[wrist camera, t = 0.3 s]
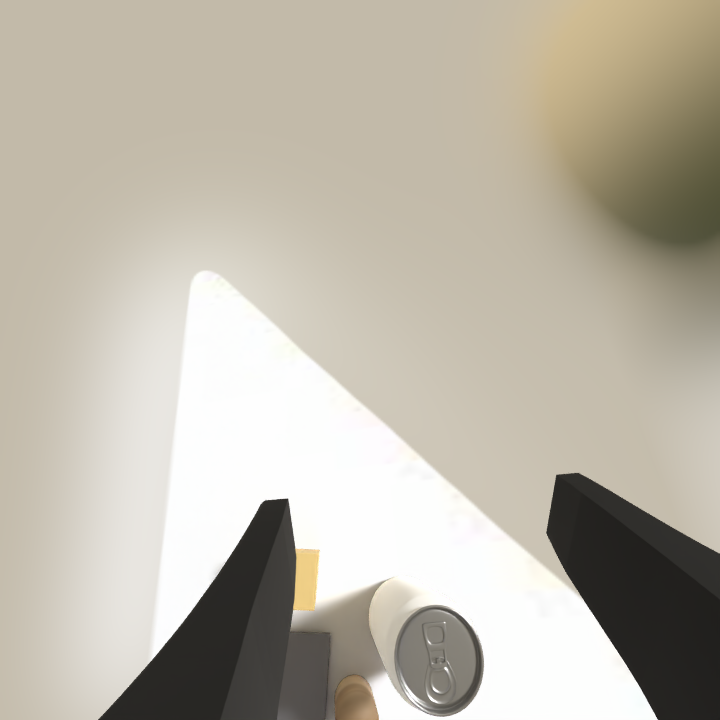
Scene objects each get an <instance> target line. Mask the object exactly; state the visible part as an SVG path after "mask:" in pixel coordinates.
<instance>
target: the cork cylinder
mask: <svg viewBox="0 0 720 720" xmlns="http://www.w3.org/2000/svg"><path fill="white" fill-rule="evenodd" d="M335 720H379V717H378V712H377V708H376V705H375V701H374V697H373V694H372V690H371V687H370V685H369V683H368V682H367V681H366V680H365V679H364V678H363V677H361V676H359V675H350V676H347V677H346V678H344V679H343V680H342V681H341V682H340V683H339V685H338V687H337V689H336V692H335Z"/></svg>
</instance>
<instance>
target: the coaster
mask: <svg viewBox="0 0 720 720" xmlns="http://www.w3.org/2000/svg"><path fill="white" fill-rule="evenodd" d="M329 647H330V633H310V632H290V633H289V640H288V647H287V653H286V660H285V667H284V673H283V680H282V687H281V693H280V700H279V707H278V716H277V720H325V710H326V694H327V679H328V663H329Z"/></svg>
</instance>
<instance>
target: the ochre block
mask: <svg viewBox="0 0 720 720" xmlns="http://www.w3.org/2000/svg"><path fill="white" fill-rule="evenodd" d="M295 550H296V557H297V559H296V581H295V599H294V606H293V610H309V611H314V607H315V601H316V590H317V577H318V564H319V552H320V550H312V549H295Z"/></svg>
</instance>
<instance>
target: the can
mask: <svg viewBox="0 0 720 720" xmlns="http://www.w3.org/2000/svg"><path fill="white" fill-rule="evenodd" d="M369 626H370V630H371V634H372V637H373V639H374V642H375V645H376V647H377V650H378V652H379V654H380V657H381V659H382V662H383V664H384V667H385V669H386V671H387V674H388V676H389V678H390V680H391V682H392V684H393V686H394V687H395V689H396V690H397V692H398V693H399V694H400V695H401V697H402V698H403V699H404V700H405V701H406V702H407V703H409V704H410V705H411V706H413V707H415V708H416V709H418V710H421V711H423V712H425V713H427V714H430V715H433V716H440V717H444V716H450V715H454V714H456V713H458V712H460V711H462V710H463V709H465V708H466V707H467V706H468V705H469V704H470V703H471V702H472V700H473V699H474V697H475V696H476V694H477V692H478V690H479V688H480V685H481V682H482V677H483V670H484V658H483V651H482V647H481V643H480V640H479V638H478V635H477V632H476V630H475V627H474V625H473V623H472V621H471V620H470V618H469V617H468V615H467V614H466V613H465V611H464V610H463V609H462V608H461V607H460V606H459V605H458V604H457V603H455V602H454V601H453V600H451V599H450V598H448V597H447V596H445V595H443V594H442V593H440V592H439V591H437V590H435V589H434V588H432V587H430V586H429V585H427V584H425V583H423V582H422V581H420V580H418V579H416V578H413V577H410V576H397V577H393V578H391V579H389V580H387V581H385V582H384V583H383V584H382V585H381V586H380V587H379V588H378V589H377V591H376V592H375V594H374V596H373V598H372V601H371V604H370V608H369Z"/></svg>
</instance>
